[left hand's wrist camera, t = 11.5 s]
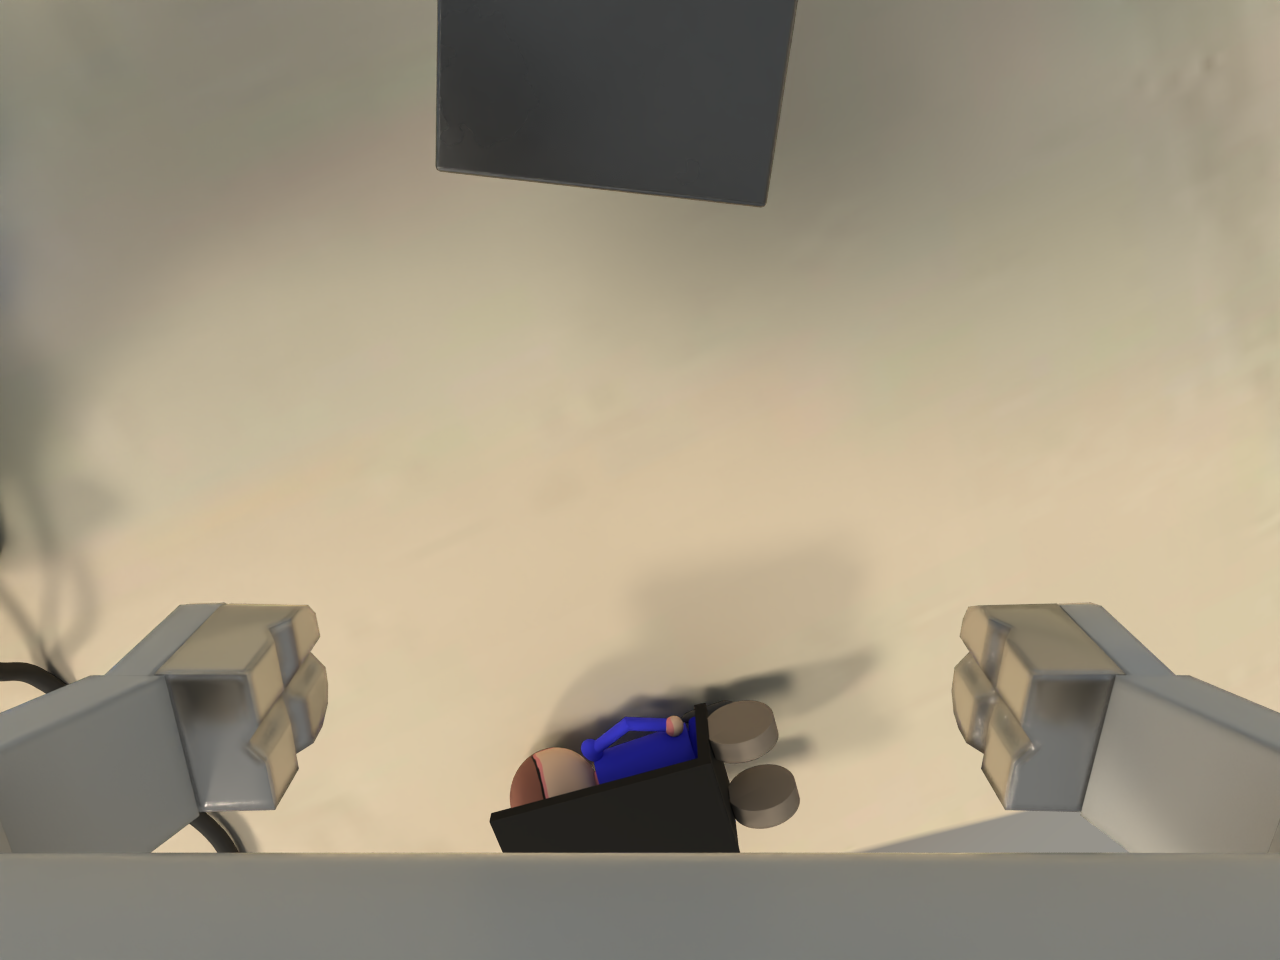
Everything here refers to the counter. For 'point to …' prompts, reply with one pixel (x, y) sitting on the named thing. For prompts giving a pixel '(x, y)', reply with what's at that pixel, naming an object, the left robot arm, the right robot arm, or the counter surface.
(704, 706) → the figurine character
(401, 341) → the counter surface
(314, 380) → the counter surface
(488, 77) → the box
